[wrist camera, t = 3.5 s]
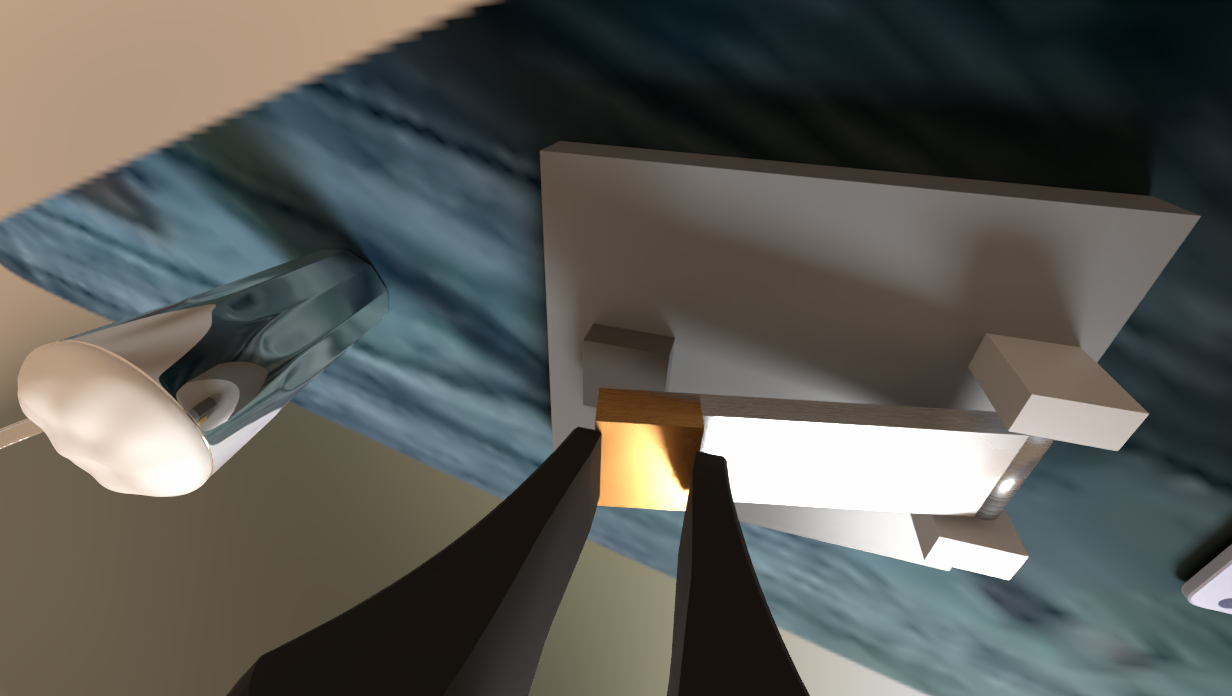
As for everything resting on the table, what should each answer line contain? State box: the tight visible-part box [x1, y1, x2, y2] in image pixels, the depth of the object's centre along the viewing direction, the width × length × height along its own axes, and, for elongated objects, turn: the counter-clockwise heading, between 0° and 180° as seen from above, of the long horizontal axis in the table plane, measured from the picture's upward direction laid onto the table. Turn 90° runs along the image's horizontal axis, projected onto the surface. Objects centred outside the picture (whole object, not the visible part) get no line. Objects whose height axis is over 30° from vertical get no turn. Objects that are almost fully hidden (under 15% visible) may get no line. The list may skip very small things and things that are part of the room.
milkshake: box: [0, 249, 388, 497], centre depth 14 cm, size 4×5×10 cm
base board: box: [540, 141, 1201, 580], centre depth 14 cm, size 14×12×4 cm
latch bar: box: [595, 388, 1054, 521], centre depth 12 cm, size 10×3×1 cm, turn 88°
